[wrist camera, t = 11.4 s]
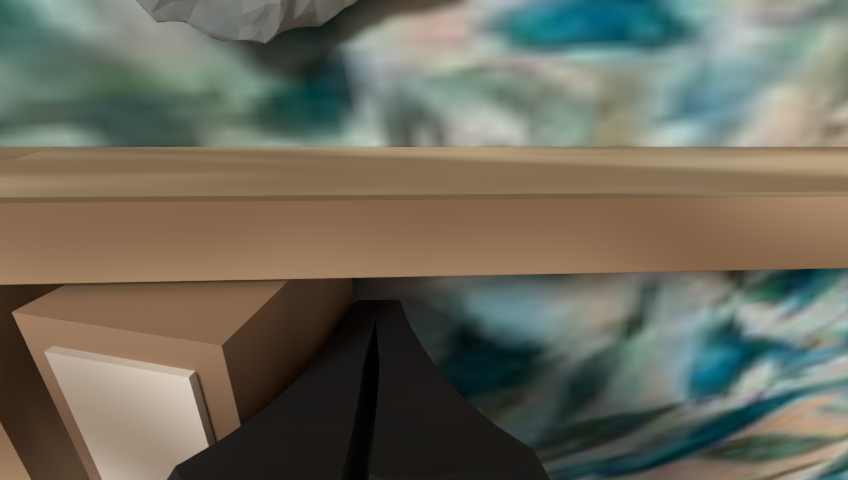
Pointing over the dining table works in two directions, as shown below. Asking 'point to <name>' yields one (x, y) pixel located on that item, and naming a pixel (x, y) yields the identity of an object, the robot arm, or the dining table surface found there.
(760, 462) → the dining table surface
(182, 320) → the cabinet block
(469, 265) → the wooden bracket
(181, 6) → the stone
